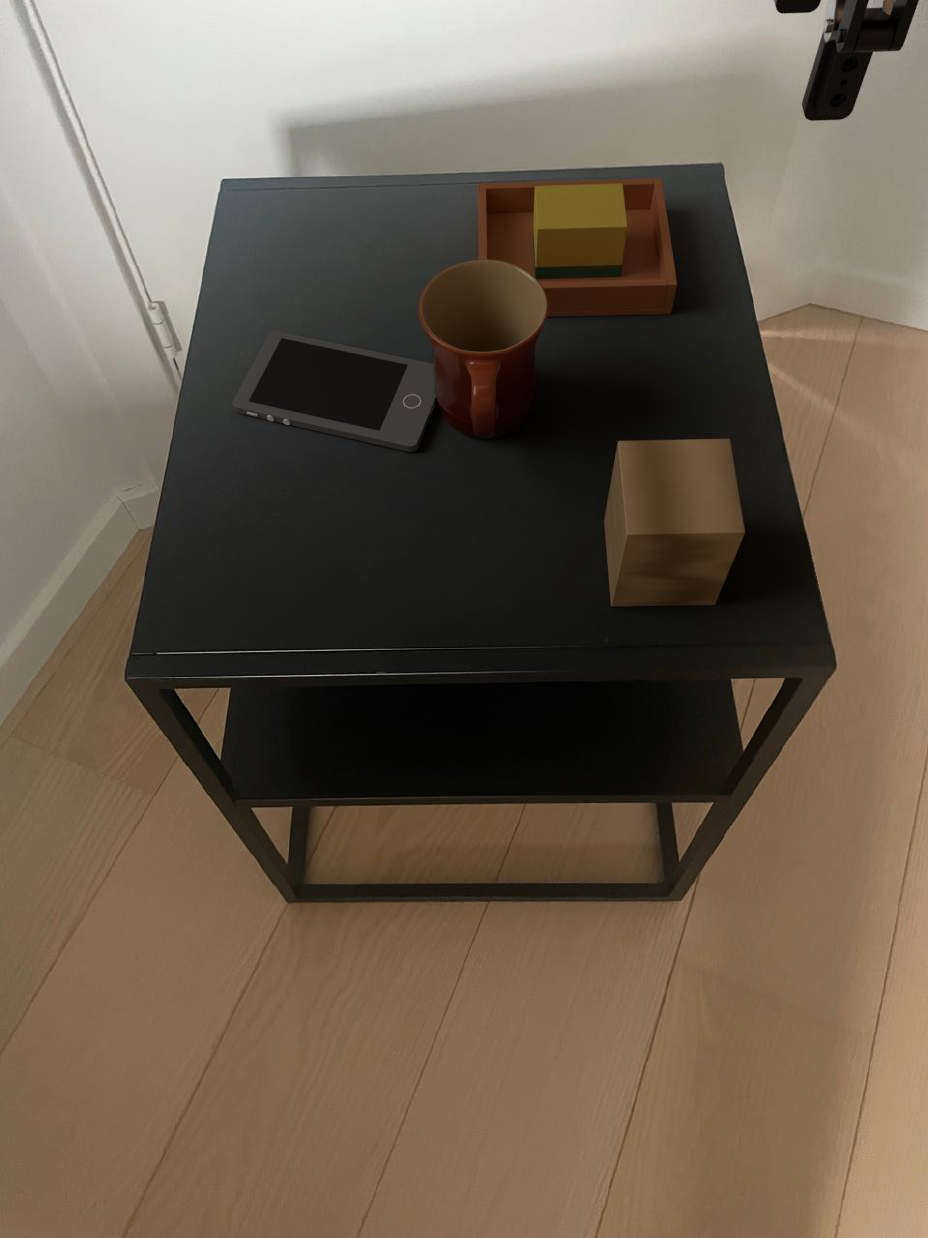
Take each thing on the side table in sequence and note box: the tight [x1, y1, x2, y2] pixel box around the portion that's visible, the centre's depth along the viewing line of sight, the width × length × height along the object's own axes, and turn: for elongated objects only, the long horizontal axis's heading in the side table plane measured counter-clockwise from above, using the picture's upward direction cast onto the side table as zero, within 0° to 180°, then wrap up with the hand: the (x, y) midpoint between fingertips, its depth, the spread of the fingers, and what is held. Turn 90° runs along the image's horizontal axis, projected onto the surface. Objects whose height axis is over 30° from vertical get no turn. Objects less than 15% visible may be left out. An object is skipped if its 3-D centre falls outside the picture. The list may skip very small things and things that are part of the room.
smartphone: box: [231, 330, 438, 453], centre depth 74 cm, size 15×8×1 cm, turn 73°
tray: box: [477, 177, 678, 318], centre depth 79 cm, size 15×12×3 cm
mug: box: [417, 258, 549, 440], centre depth 68 cm, size 12×9×10 cm
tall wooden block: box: [603, 438, 746, 608], centre depth 62 cm, size 7×7×9 cm
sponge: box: [533, 184, 628, 279], centre depth 77 cm, size 7×5×5 cm
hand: (808, 59), depth 47 cm, fingers open, 8 cm apart
